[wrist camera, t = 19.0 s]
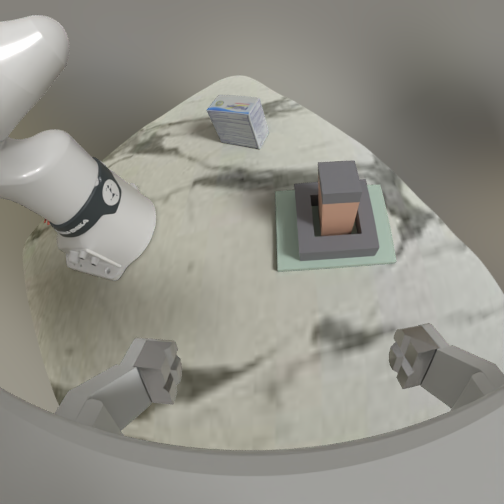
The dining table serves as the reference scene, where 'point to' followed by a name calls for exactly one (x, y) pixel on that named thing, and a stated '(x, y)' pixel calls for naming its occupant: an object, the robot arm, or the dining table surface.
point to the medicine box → (239, 120)
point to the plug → (338, 197)
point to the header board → (292, 238)
